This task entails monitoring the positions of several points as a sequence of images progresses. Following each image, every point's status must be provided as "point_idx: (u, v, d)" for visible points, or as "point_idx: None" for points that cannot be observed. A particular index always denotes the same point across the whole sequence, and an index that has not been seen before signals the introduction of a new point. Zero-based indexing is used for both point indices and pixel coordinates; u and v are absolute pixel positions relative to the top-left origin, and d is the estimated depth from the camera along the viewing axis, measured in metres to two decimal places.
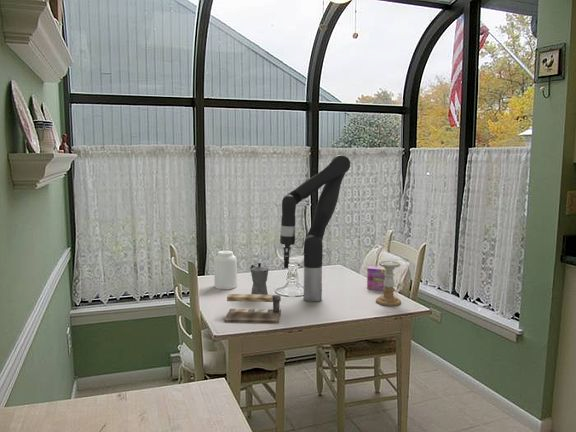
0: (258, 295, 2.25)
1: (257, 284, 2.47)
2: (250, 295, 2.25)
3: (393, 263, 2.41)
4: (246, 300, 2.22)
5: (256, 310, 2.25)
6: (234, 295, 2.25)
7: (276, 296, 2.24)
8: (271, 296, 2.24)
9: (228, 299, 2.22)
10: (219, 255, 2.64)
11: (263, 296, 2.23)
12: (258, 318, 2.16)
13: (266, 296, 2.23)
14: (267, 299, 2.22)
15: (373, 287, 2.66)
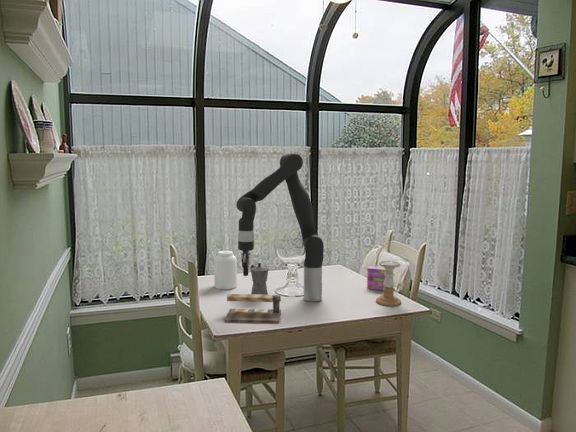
0: (258, 295, 2.25)
1: (257, 284, 2.47)
2: (250, 295, 2.25)
3: (393, 263, 2.41)
4: (246, 300, 2.22)
5: (256, 310, 2.25)
6: (234, 295, 2.25)
7: (276, 296, 2.24)
8: (271, 296, 2.24)
9: (228, 299, 2.22)
10: (219, 255, 2.64)
11: (263, 296, 2.23)
12: (258, 318, 2.16)
13: (266, 296, 2.23)
14: (267, 299, 2.22)
15: (373, 287, 2.66)
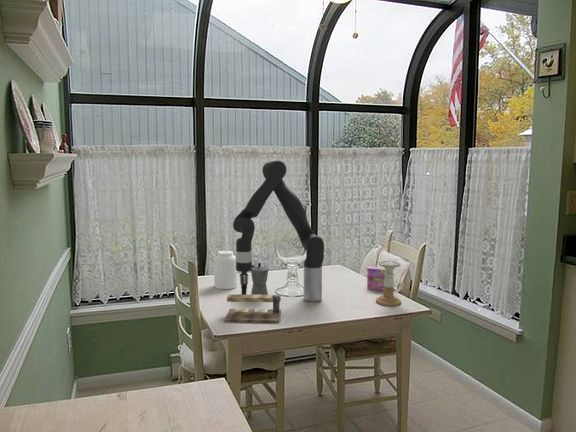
0: (258, 295, 2.25)
1: (257, 284, 2.47)
2: (250, 295, 2.24)
3: (393, 263, 2.41)
4: (246, 300, 2.22)
5: (256, 310, 2.25)
6: (234, 296, 2.24)
7: (276, 296, 2.24)
8: (271, 296, 2.23)
9: (228, 299, 2.21)
10: (219, 255, 2.64)
11: (263, 296, 2.23)
12: (258, 318, 2.16)
13: (266, 296, 2.23)
14: (267, 299, 2.21)
15: (373, 287, 2.66)
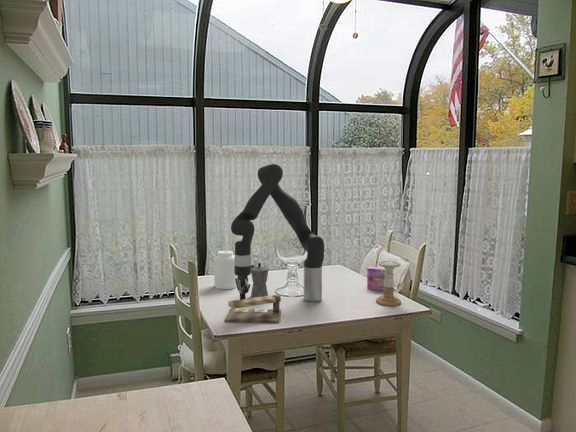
0: (259, 298, 2.21)
1: (257, 284, 2.47)
2: (251, 299, 2.19)
3: (393, 263, 2.41)
4: (251, 304, 2.16)
5: (256, 310, 2.25)
6: (236, 301, 2.15)
7: (276, 296, 2.24)
8: (272, 297, 2.22)
9: (234, 306, 2.12)
10: (219, 255, 2.64)
11: (265, 298, 2.21)
12: (258, 318, 2.16)
13: (267, 297, 2.21)
14: (271, 300, 2.20)
15: (373, 287, 2.66)
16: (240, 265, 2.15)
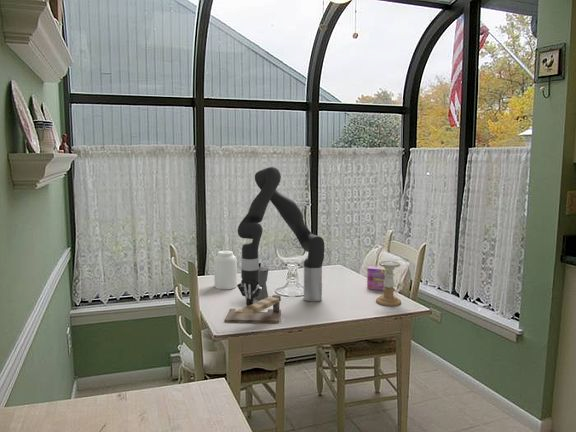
0: (264, 300, 2.17)
1: None
2: (260, 302, 2.14)
3: (393, 263, 2.41)
4: (264, 308, 2.11)
5: None
6: (251, 307, 2.08)
7: (276, 296, 2.24)
8: (274, 297, 2.22)
9: (253, 312, 2.04)
10: (219, 255, 2.64)
11: (270, 299, 2.19)
12: (258, 318, 2.16)
13: (271, 298, 2.20)
14: (276, 301, 2.19)
15: (373, 287, 2.66)
16: (252, 269, 2.08)
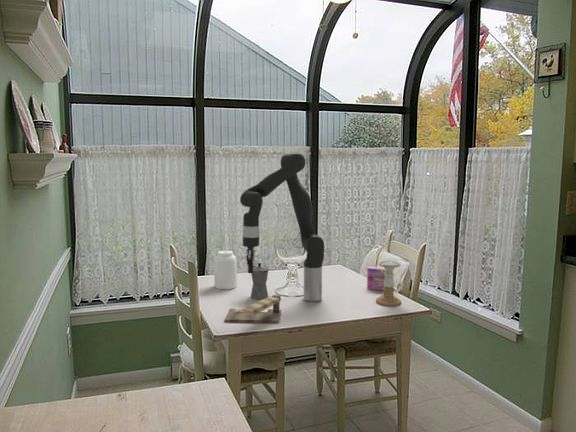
0: (264, 300, 2.17)
1: (257, 284, 2.47)
2: (260, 302, 2.14)
3: (393, 263, 2.41)
4: (264, 308, 2.11)
5: None
6: (251, 307, 2.07)
7: (276, 296, 2.24)
8: (274, 297, 2.22)
9: (253, 312, 2.04)
10: (219, 255, 2.64)
11: (270, 299, 2.19)
12: (258, 318, 2.16)
13: (271, 298, 2.20)
14: (276, 301, 2.19)
15: (373, 287, 2.66)
16: (245, 236, 2.18)
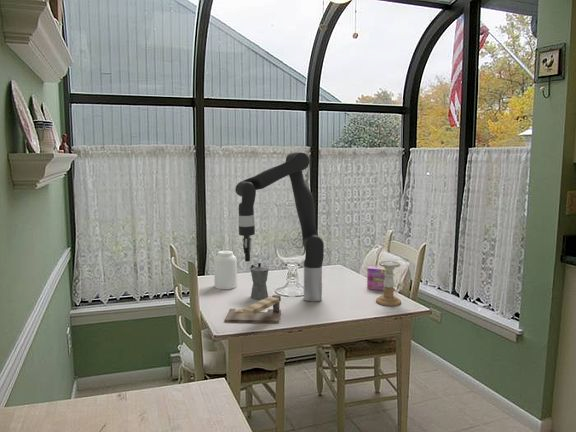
0: (264, 300, 2.17)
1: (257, 284, 2.47)
2: (260, 302, 2.14)
3: (393, 263, 2.41)
4: (264, 308, 2.11)
5: None
6: (251, 307, 2.07)
7: (276, 296, 2.24)
8: (274, 297, 2.22)
9: (253, 312, 2.04)
10: (219, 255, 2.64)
11: (270, 299, 2.19)
12: (258, 318, 2.16)
13: (271, 298, 2.20)
14: (276, 301, 2.19)
15: (373, 287, 2.66)
16: (241, 225, 2.23)
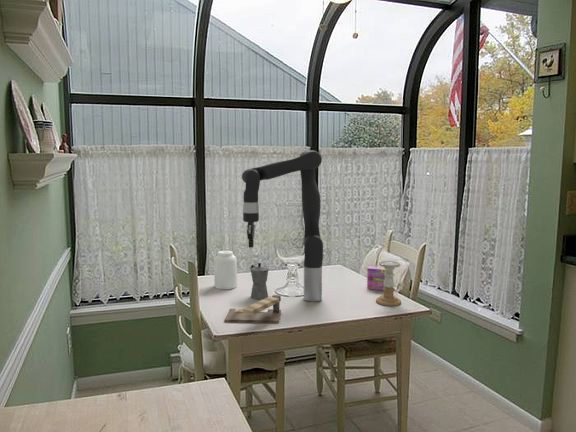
0: (264, 300, 2.17)
1: (257, 284, 2.47)
2: (260, 302, 2.14)
3: (393, 263, 2.41)
4: (264, 308, 2.11)
5: None
6: (251, 307, 2.07)
7: (276, 296, 2.24)
8: (274, 297, 2.22)
9: (253, 312, 2.04)
10: (219, 255, 2.64)
11: (270, 299, 2.19)
12: (258, 318, 2.16)
13: (271, 298, 2.20)
14: (276, 301, 2.19)
15: (373, 287, 2.66)
16: (245, 211, 2.28)
